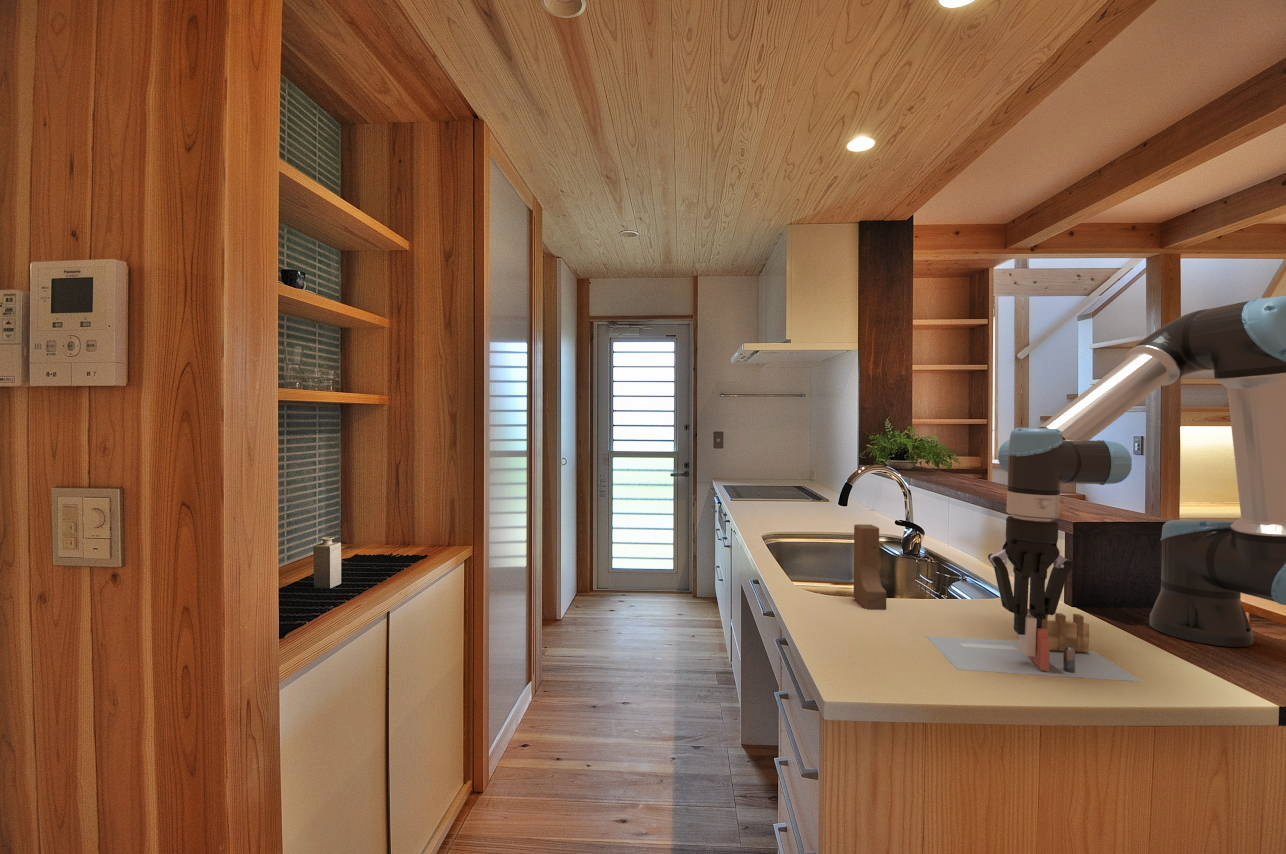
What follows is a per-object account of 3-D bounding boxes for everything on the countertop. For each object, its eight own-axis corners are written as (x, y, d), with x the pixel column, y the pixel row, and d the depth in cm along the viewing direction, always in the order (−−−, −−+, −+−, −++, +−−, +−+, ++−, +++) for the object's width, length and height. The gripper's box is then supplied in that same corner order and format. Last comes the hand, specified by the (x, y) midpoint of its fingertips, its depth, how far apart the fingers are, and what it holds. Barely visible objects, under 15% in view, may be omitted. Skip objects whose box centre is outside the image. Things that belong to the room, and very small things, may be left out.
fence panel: (1022, 649, 106) (1023, 614, 106) (1031, 650, 106) (1032, 615, 106) (1040, 670, 97) (1040, 631, 97) (1050, 671, 97) (1050, 632, 97)
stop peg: (1071, 669, 99) (1071, 645, 99) (1077, 673, 97) (1077, 649, 97) (1061, 668, 99) (1061, 645, 99) (1066, 672, 97) (1067, 648, 97)
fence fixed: (1084, 649, 107) (1085, 614, 107) (1089, 652, 105) (1089, 617, 105) (1031, 646, 108) (1031, 611, 108) (1035, 649, 107) (1035, 614, 107)
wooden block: (887, 611, 130) (887, 531, 130) (866, 611, 130) (867, 530, 130) (871, 599, 139) (872, 524, 139) (852, 599, 139) (853, 524, 139)
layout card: (1082, 646, 110) (1082, 644, 110) (1142, 684, 94) (1142, 681, 94) (925, 637, 114) (925, 635, 114) (957, 671, 98) (957, 669, 98)
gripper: (1001, 519, 97) (995, 658, 98) (1086, 523, 95) (1080, 665, 96) (982, 511, 105) (977, 641, 105) (1061, 515, 103) (1055, 647, 103)
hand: (1026, 652), depth 101 cm, fingers closed
